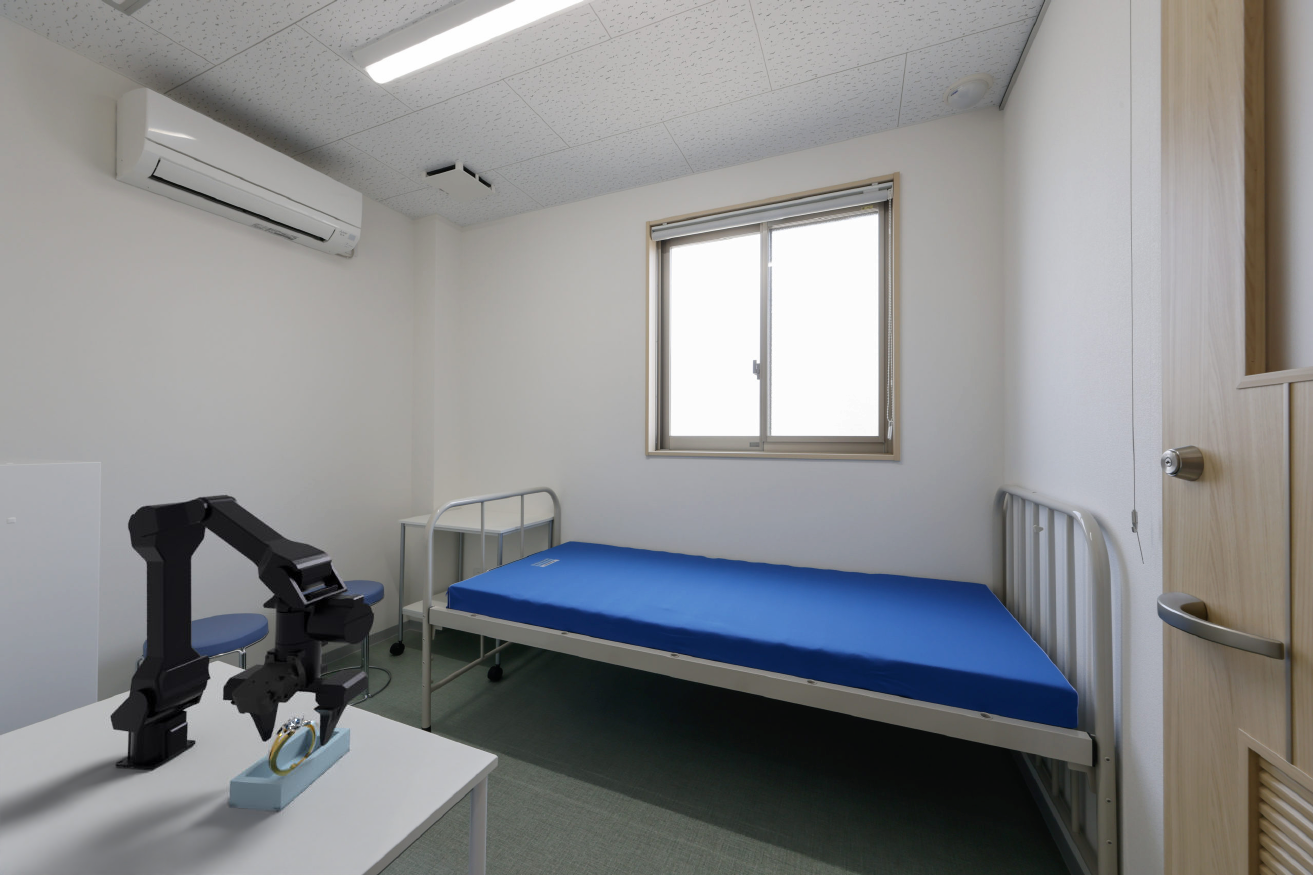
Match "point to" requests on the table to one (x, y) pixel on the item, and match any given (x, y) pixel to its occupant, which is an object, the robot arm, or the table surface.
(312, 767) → the box
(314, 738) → the ring
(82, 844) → the table surface
